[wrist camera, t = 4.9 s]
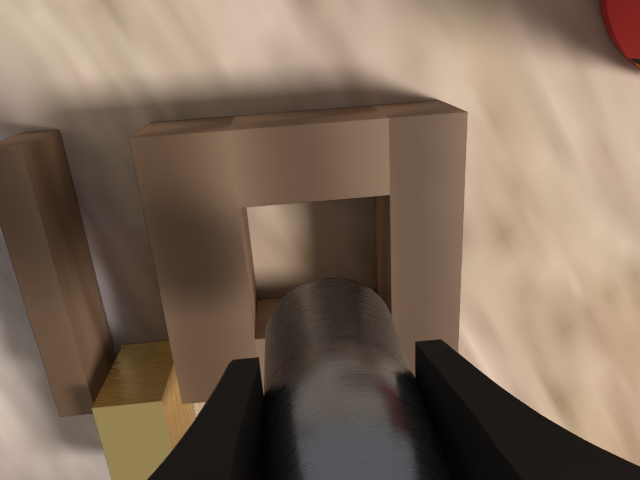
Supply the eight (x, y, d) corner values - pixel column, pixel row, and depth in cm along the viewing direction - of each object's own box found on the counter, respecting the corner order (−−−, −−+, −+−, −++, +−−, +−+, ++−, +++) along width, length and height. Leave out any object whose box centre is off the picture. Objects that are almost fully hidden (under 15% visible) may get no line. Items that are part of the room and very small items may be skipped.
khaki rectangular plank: (180, 339, 22) (161, 401, 18) (201, 449, 24) (188, 525, 21) (122, 344, 22) (91, 408, 18) (149, 455, 24) (126, 532, 20)
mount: (439, 100, 19) (467, 112, 16) (435, 334, 23) (456, 376, 20) (21, 132, 19) (-23, 150, 16) (87, 368, 22) (59, 416, 19)
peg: (399, 278, 14) (533, 567, 7) (385, 385, 16) (483, 716, 8) (266, 277, 14) (257, 579, 7) (264, 386, 15) (255, 732, 8)
